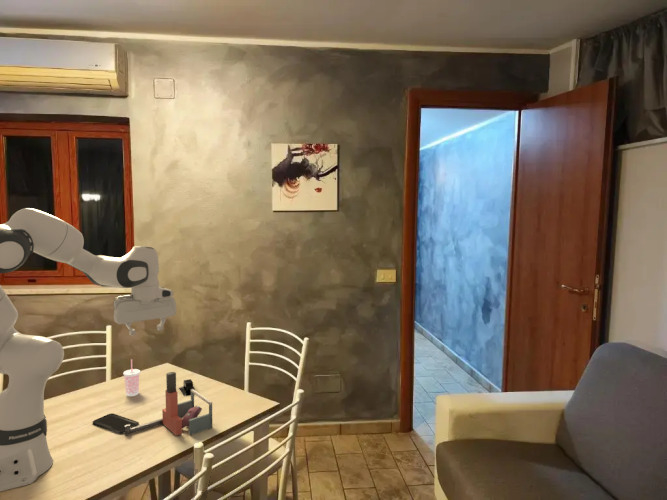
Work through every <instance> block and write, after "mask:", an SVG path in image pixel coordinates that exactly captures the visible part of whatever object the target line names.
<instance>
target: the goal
mask: <svg viewBox="0 0 667 500" xmlns="http://www.w3.org/2000/svg"><path fill="white" fill-rule="evenodd" d="M195 390H196V389H195ZM195 390H194V389H191V395H190V400H187V401H183V402H178V416H179V417H180V418H181V419H182V418H183V417H184V416H185V415H186V414H187V413H188V410H189V409H191V408H193V407H195V396H196V397H198V398H199V399H201V400H202V401H203V402H205V403H206V404H208V413H206V414H203V415H200V416H199V415H198V416H197V417H196V418H193V419H190V420H189V427H188V435H189V436H192V435H195V434H199V433H201V432H203V431H207V430H210V429H212V428H213V401H211V400H210V399H208V397H205V396H204V395H202V393H200V392H198V391H197V390H196V391H195Z"/></svg>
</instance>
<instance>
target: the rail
mask: <svg viewBox="0 0 667 500" xmlns="http://www.w3.org/2000/svg"><path fill="white" fill-rule="evenodd" d="M161 425H164V424H163V417H161V418H159V419H157V420H153V421H150V422H146V423H144V424H139V426H136V427H133V428H130V424H128V425H125V426H124V433H123V435H124V436H128V435H132V434H135V433H137V432H140V431H144V430H147V429H150V428H154V427H158V426H161Z"/></svg>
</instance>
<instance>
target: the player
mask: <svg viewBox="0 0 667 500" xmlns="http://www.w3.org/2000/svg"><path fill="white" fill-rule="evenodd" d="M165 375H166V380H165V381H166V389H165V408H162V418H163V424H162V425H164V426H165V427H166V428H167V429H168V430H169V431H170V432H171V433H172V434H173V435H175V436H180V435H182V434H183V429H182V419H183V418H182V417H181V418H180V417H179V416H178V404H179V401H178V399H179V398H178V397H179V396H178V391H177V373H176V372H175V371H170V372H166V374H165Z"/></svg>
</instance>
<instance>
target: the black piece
mask: <svg viewBox="0 0 667 500" xmlns="http://www.w3.org/2000/svg"><path fill="white" fill-rule="evenodd" d="M182 385H183V386H182V387H178V390H179V391H180V393H181V394H182V395H183V397H188V396H191V389H194V390H195V391H197V390H196V388H195V386H194V382H193V380H192V379H184V380H183V384H182Z"/></svg>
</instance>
